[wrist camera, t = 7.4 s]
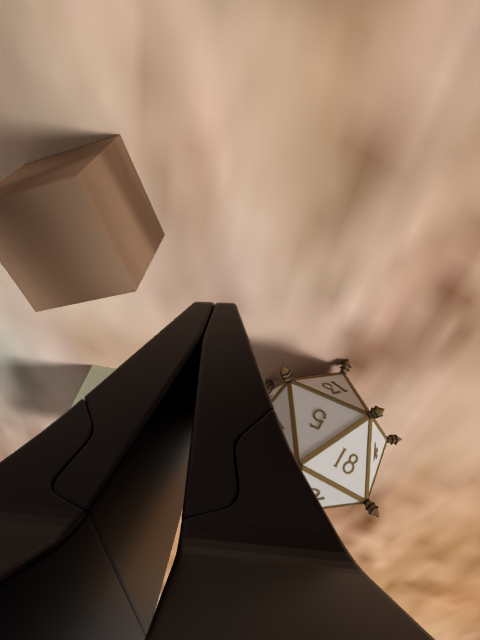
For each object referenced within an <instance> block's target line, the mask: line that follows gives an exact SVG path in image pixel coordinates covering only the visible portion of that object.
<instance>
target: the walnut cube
mask: <svg viewBox="0 0 480 640" xmlns="http://www.w3.org/2000/svg"><path fill="white" fill-rule="evenodd" d="M164 235H165V234H164V232H163V230H162V228H161V225H160V223H159V221H158V219H157V216H156V214H155V212H154V210H153V207H152V205H151V203H150V201H149V199H148V196H147V194H146V192H145V190H144V187H143V185H142V183H141V181H140V178H139V176H138V174H137V172H136V169H135V167H134V165H133V163H132V160H131V158H130V156H129V154H128V151H127V149H126V147H125V145H124V142H123V140H122V138H121V136H120V134H119V135H116V136H113V137H110V138H106V139H103V140H100V141H97V142H94V143H91V144H87V145H84V146H81V147H78V148H75V149H72V150H68V151H65V152H62V153H59V154H56V155H52V156H49V157H46V158H43V159H40V160H37V161H33V162H30V163H27V164H25V165H23V166H22V167H21V168H19V169H18V170H17V171H15V172H14V173H12V174H11V175H10V176H8V177H7V178H6V179H4V180H3V181H2V182H0V262H1V263H2V265H3V266H4V268H5V269H6V271H7V272H8V273H9V275H10V276H11V278H12V279H13V280H14V282H15V283H16V285H17V286H18V287H19V289H20V290H21V292H22V293H23V295H24V296H25V297H26V299H27V300H28V302H29V303H30V304H31V306H32V307H33V309H34V310H35V312H38V311H42V310H47V309H52V308H57V307H62V306H67V305H72V304H76V303H81V302H86V301H91V300H96V299H101V298H106V297H110V296H115V295H120V294H125V293H130V292H135V291H136V290H137V288H138V286H139V284H140V282H141V280H142V278H143V276H144V274H145V272H146V270H147V269H148V267H149V265H150V263H151V261H152V259H153V257H154V255H155V253H156V251H157V249H158V247H159V245H160V243H161V241H162V239H163V237H164Z"/></svg>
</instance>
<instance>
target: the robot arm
mask: <svg viewBox="0 0 480 640" xmlns="http://www.w3.org/2000/svg"><path fill="white" fill-rule="evenodd" d="M84 399H85V400H84ZM84 399H81V400H80V401H78V402H77V403H76V404H75V405H74V406H73V407H71V408H70V409H69V410H68V411H67V412H66V413H64V414H63V415H62V416H61V417H59V418H58V419H57V420H56V421H55V422H53V423H52V424H51V425H50V426H48V427H47V428H46V429H45V430H43V431H42V432H41V433H39V434H38V435H37V436H35V437H34V438H33V439H31V440H30V441H29V442H27V443H26V444H25V445H23V446H22V447H21V448H19V449H18V450H17V451H15V452H14V453H12V454H11V455H10V456H8V457H7V458H5V459H4V460H3V461H1V462H0V640H435V639H434V638H433V637H432V636H431V635H430V634H429V633H427V632H426V631H425V630H424V629H423V628H422V627H421V626H420V625H419V624H418V623H417V622H416V621H415V620H414V619H413V618H412V617H411V616H410V615H409V614H407V613H406V612H405V611H404V610H403V609H402V608H401V607H400V606H399V605H398V604H397V603H396V602H395V601H394V600H393V599H392V598H391V597H390V596H389V595H387V594H386V593H385V592H384V591H383V590H382V589H381V588H380V587H379V586H378V585H377V584H376V583H375V582H374V581H373V580H372V579H371V578H370V577H369V576H368V575H367V574H366V573H365V572H364V571H363V570H362V569H361V568H360V567H359V565H358V564H357V563H356V561H355V560H354V559H353V557H352V556H351V555H350V553H349V552H348V550H347V548H346V547H345V545H344V544H343V542H342V541H341V539H340V537H339V536H338V534H337V532H336V530H335V529H334V527H333V525H332V523H331V522H330V520H329V518H328V516H327V514H326V513H325V511H324V509H323V507H322V506H321V504H320V502H319V500H318V498H317V497H316V495H315V493H314V491H313V490H312V488H311V486H310V484H309V482H308V481H307V479H306V477H305V475H304V474H303V472H302V470H301V468H300V466H299V464H298V462H297V460H296V458H295V456H294V454H293V452H292V450H291V448H290V446H289V444H288V441H287V439H286V436H285V434H284V432H283V429H282V427H281V424H280V422H279V419H278V416H277V414H276V412H275V409H274V406H273V403H272V401H271V398H270V395H269V393H268V390H267V387H266V384H265V382H264V379H263V376H262V374H261V371H260V368H259V365H258V363H257V360H256V357H255V355H254V352H253V349H252V347H251V344H250V341H249V338H248V336H247V333H246V330H245V328H244V325H243V322H242V319H241V317H240V314H239V311H238V309H237V306H236V304H234V303H216V304H214V303H212V302H195V303H193V304H192V305H191V306H189V307H188V308H187V309H186V310H185V311H184V312H182V313H181V314H180V315H179V316H178V317H177V318H175V319H174V320H173V321H172V322H171V323H170V324H168V325H167V326H166V327H165V328H164V329H163V330H161V331H160V332H159V333H158V334H157V335H156V336H154V337H153V338H152V339H151V340H150V341H149V342H147V343H146V344H145V345H144V346H143V347H142V348H141V349H139V350H138V351H137V352H136V353H135V354H134V355H132V356H131V357H130V358H129V359H128V360H127V361H125V362H124V363H123V364H122V365H121V366H120V367H118V368H117V369H116V370H115V371H114V372H113V373H111V374H110V375H109V376H108V377H107V378H106V379H104V380H103V381H102V382H101V383H100V384H99V385H97V386H96V387H95V388H94V389H93V390H92V391H90V392H89V393H88V394H87V395H86V396H85V397H84ZM182 509H183V511H182ZM181 512H182V523H181V529H180V536H179V542H178V547H177V552H176V556H175V559H174V562H173V565H172V568H171V571H170V573H169V576H168V579H167V581H166V584H165V587H164V589H163V592H162V595H161V597H160V600H159V603H158V605H157V601H158V598H159V594H160V590H161V587H162V583H163V579H164V576H165V572H166V568H167V564H168V561H169V557H170V553H171V550H172V546H173V542H174V538H175V535H176V531H177V527H178V523H179V520H180V516H181ZM156 605H157V608H156ZM155 609H156V611H155Z"/></svg>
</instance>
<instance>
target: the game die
mask: <svg viewBox="0 0 480 640" xmlns="http://www.w3.org/2000/svg"><path fill="white" fill-rule="evenodd" d="M340 368H341V371H340V372H338V373H330V374H322V375H314V376H306V377H298V378H292V377H291V376H292V373H291V372H290V371H291V370H289V369H287V368H285V367H283V366H282V371H281V372H280V373H281V376H282V377H283V380H285V381H284V382H283V383H281V384H279V385H278V386H276V387H275V385H274V384H273V382H272V381H271V380H265V384H266V387H267V390H270V393H269V395H270V398H271V401H272V403H273V406H274V409H275V412H276V414H277V416H278V419H279V422H280V424H281V427H282V429H283V432H284V434H285V436H286V439H287V441H288V444H289V446H290V448H291V450H292V452H293V454H294V456H295V458H296V460H297V462H298V464H299V466H300V468H301V470H302V472H303V474H304V475H305V477H306V479H307V481H308V482H309V484H310V486H311V488H312V490H313V491H314V493H315V495H316V497H317V498H318V500H319V502H320V504H321V506H322V507H323V509H328V508H336V507H344V506H352V505H359V504H364V505H365V507H366V508H365V509H366V510H367V511H369V514H370V515H371V514H372V515H374V516H376V517H379V513H378V506H376V505H375V503H374V502H371V501H370V500H369V496H370V493H371V490H372V487H373V484H374V481H375V478H376V475H377V471H378V468H379V465H380V462H381V459H382V456H383V453H384V450H385V447H386V444H387V443H390V444H391V445H392V444H395V445H396V444H397V443H398V442H399V441H400V440H402V439H401V438H399V437H398V436H397V435H389V436H386V435H385V433H384V432H383V430H382V429H381V427H380V426H379V424H378V423H377V421H376V420H375V418H378V417H381V416H383V415H382V414H383V411H384V409H383V408H379V407H377V406H375V407H374V408H371V411H369V409H368V408H367V406H366V405H365V403H364V401H363V400H362V398H361V397H360V395H359V394H358V392H357V391H356V389H355V388H354V386H353V385H352V383H351V382H350V380H349V379H348V377H347V376H346V373H347V372H348V371H349V368H351V366H350V362H349V360H347V361H346V362H344V363H342V366H341V367H340Z"/></svg>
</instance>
